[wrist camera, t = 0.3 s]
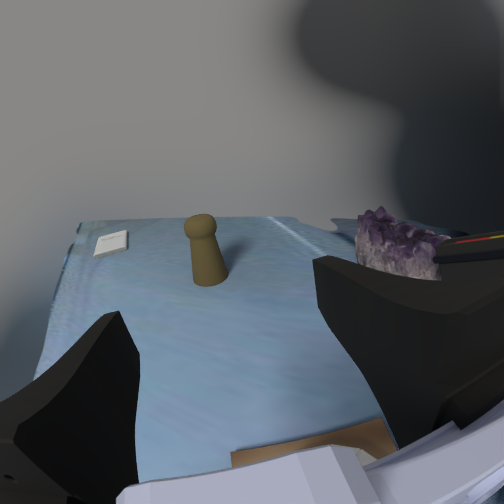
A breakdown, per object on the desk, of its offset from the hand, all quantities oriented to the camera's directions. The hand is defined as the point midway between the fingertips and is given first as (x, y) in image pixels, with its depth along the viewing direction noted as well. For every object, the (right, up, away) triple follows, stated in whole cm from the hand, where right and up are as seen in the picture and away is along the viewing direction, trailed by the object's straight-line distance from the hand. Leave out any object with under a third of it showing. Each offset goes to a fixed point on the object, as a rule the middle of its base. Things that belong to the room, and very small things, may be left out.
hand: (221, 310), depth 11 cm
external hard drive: (-33, +3, +64) cm, 73 cm away
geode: (+25, -1, +38) cm, 45 cm away
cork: (-6, -2, +44) cm, 45 cm away
